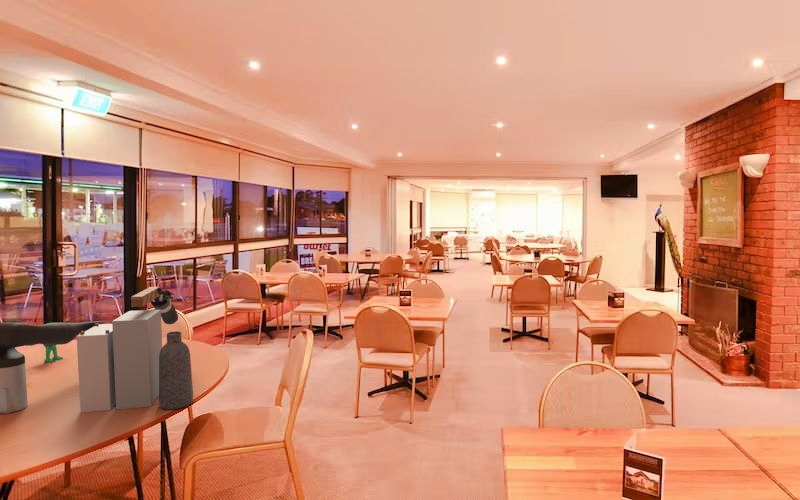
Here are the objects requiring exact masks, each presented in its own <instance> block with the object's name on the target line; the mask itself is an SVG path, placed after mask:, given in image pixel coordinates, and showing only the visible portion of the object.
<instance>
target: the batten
mask: <svg viewBox="0 0 800 500" xmlns="http://www.w3.org/2000/svg"><path fill="white" fill-rule="evenodd" d="M158 287H159V286H150V287H146V288H147V289H146V288H145V289H143V290H142V291H140V292H138V293H136V294H134V295H132V296H131V297H130V300H131V301H130V302H131V303H130V305H131V306H130V307H131V308H140V307H142V308H143V307H144V306H146V305H148V304H149V303H151V301H152V300H154V299H155V298H157V297H158V296H160V295H159V294H158V292H157V289H158Z"/></svg>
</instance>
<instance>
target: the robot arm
mask: <svg viewBox="0 0 800 500" xmlns="http://www.w3.org/2000/svg"><path fill="white" fill-rule="evenodd" d="M157 287H158V289H157V292H158V294H159V295H160V296H158V297H157V298H155V299H154V300H152V301H151V302H150V304H151V305H152V306H153V308H154V310H161V320H162V321H163V323H164V324H166V325H174V324H175V323H177V321H178V320H179V315H178V312H177V309H176V308H175V305H174V304H173V303H172V301H171V300H174V293H172V292H171V291H169V290H167V289H166V290H163V289H162V288H161V286H157ZM147 288H148V287H146V288H145V289H147ZM95 323H99V324H107V323H106V322H104V321H102V320H98V321H95V320H94V321H85V322H48V323H45V324H39V325H38V324H28V323H21V322H8V321H7V322H5V321H4V322H3V321H2V322H0V414H5V415H8V414H10V413H14V412H18V411H21V410H24V409H26V408H27V407H28V405H29V400H28V388H27V387H28V386H27V384H28V383H27V372H26V371H27V368H26V357H25V355H24V354H23V353H21V352H19V351H18V350H17V348H20V347H27V345H32V344H37V345H43V344H44V345H56V346H57V345H58V346H59V345H66V344H69V343H71V342H72V341H73V340H75V339H76V338H77V336H78V335H80V332H81V331H84V332H85V331H87V330H89V329H90V328H92V327H94V326H95ZM44 345H43V346H44Z"/></svg>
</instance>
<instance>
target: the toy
mask: <svg viewBox="0 0 800 500" xmlns="http://www.w3.org/2000/svg"><path fill="white" fill-rule="evenodd" d="M36 345H38V344H32V345H26V347H28V346H30V347H32V346H36ZM42 345H43V347H44V348H45V359H44V360H43V362H46V363H53V362H56V360H63V359H64V357H62V356H59V355H58V347H57V345H44V344H42ZM51 352H52V356H53V357H50V356H51Z"/></svg>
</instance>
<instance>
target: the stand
mask: <svg viewBox="0 0 800 500" xmlns="http://www.w3.org/2000/svg"><path fill="white" fill-rule="evenodd" d="M111 322H112V323H106V324H99V323H95V326H94V327H92V328H90V329H89V330H87V331H85V332H84V331H81V332H80V333H79V334H78V335H77V336H76V347H77V348H76V349H77V370H78V387H79V388H78V391H79V407H80V409H79V410H80V411H79V412H80V413H92V412H93V413H94V412H103V411H111V409H113V408H114V407H115V409H116V410H126V409H136V408H137V409H139V408H146V407H147V408H148V407H152V405H153V404H154V402H155V401H156V400H157V398H159V354H160V351H161V349H162V347H163V336H162V334H163V332H162V317H161V310H155V309H143V310H129V311H127V312H125V313H124V314H121V315H120V316H118V317H117V318H116V319H114V320H112V321H111Z"/></svg>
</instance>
